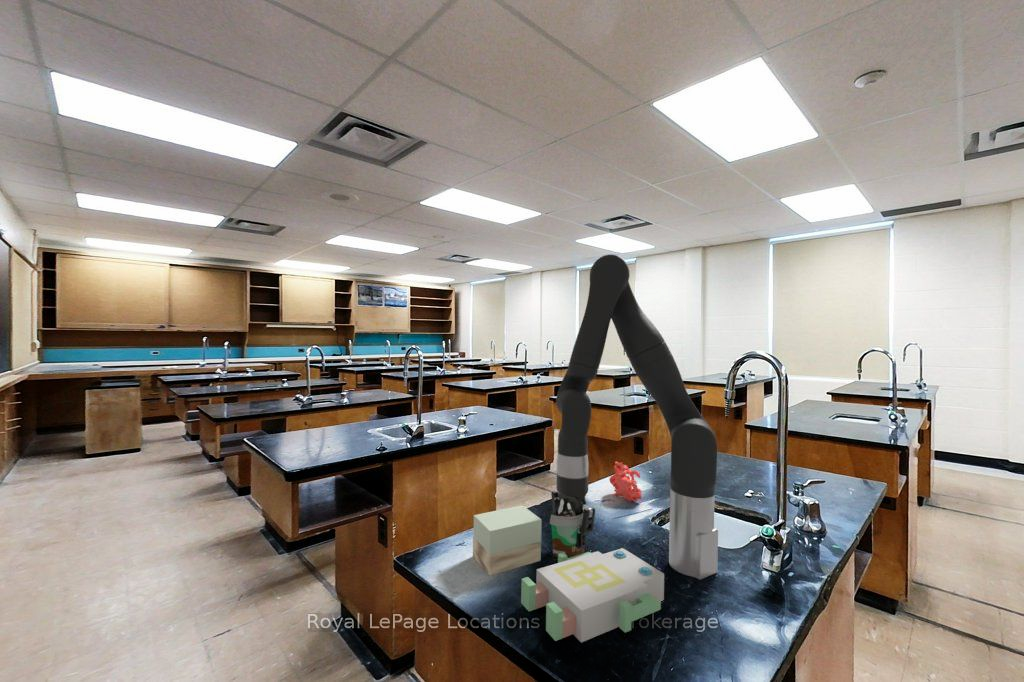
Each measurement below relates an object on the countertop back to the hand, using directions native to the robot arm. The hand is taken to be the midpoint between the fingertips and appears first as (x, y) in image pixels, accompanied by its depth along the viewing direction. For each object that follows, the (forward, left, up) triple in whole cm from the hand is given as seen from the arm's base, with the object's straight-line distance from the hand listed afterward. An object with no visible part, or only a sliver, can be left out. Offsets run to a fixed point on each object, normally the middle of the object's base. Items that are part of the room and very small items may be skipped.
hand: (571, 541), depth 101 cm
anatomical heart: (+19, -37, -3) cm, 42 cm away
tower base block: (+5, +15, -3) cm, 16 cm away
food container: (-1, 0, -2) cm, 2 cm away
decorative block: (-17, +8, -3) cm, 20 cm away
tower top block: (+5, +15, +2) cm, 16 cm away
